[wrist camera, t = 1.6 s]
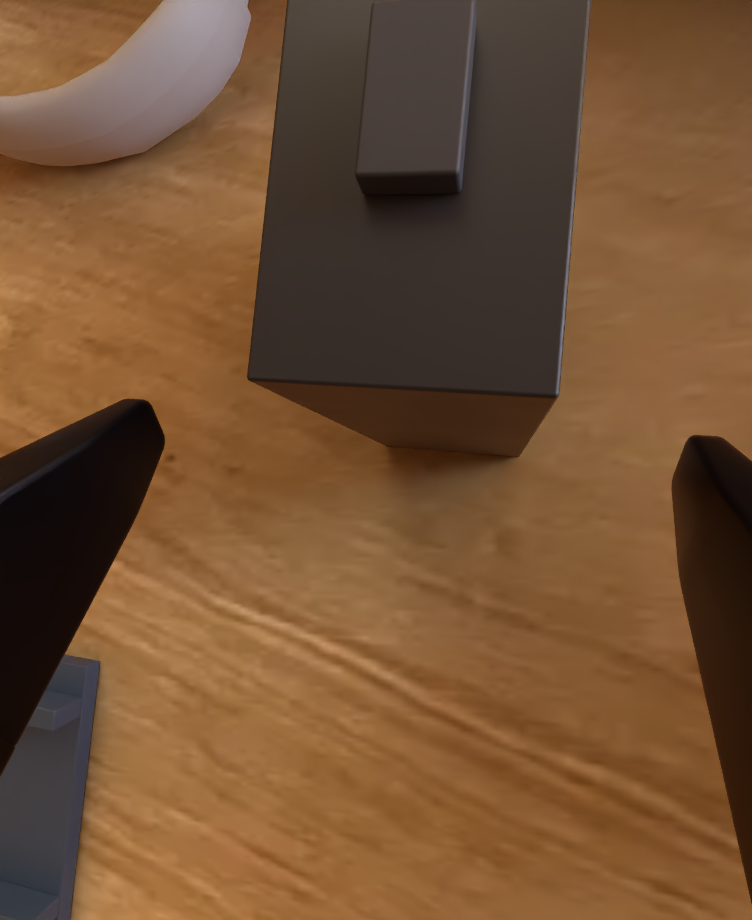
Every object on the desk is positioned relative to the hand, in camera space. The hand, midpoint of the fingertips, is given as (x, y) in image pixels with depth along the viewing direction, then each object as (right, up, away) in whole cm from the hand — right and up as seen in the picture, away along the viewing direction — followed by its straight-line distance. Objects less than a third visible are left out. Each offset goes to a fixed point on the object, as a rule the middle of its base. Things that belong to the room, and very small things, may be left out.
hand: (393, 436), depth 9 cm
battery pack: (+3, +4, +12) cm, 13 cm away
